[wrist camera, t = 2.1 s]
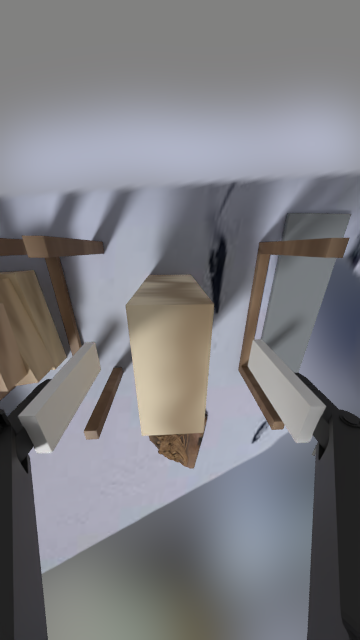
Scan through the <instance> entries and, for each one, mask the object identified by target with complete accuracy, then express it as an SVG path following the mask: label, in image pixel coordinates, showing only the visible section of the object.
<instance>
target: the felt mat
mask: <svg viewBox="0 0 360 640" xmlns="http://www.w3.org/2000/svg"><path fill="white" fill-rule="evenodd" d="M350 216H351V214H320V213H288V214H287V218H286V223H285V227H284V232H283V237H282V241H291V240H306V239H322V238H343V237H344V234H345V231H346V228H347V225H348V222H349V219H350ZM335 261H336V258H321V257H305V256H288V255H279V256H278V261H277V265H276V270H275V275H274V280H273V284H272V289H271V294H270V299H269V303H268V308H267V313H266V318H265V322H264V327H263V332H262V337H261V339H262V340H263V341H264V342H265V343H266V344H267V345H268V347H269V348H270V349H271V350H272V351H273V352H274V353H275V354H276V355H277V356H278V357H279V358H280V359H281V360H282V361H283V362H284V363H285V364H286V365H287V366H288V367H289V368H290V369H291V370H292V371H293V372H294V373H298V372H299V368H300V366H301V363H302V360H303V357H304V354H305V351H306V348H307V344H308V342H309V338H310V335H311V333H312V330H313V327H314V324H315V320H316V318H317V315H318V312H319V308H320V306H321V303H322V300H323V297H324V294H325V291H326V288H327V285H328V282H329V279H330V276H331V273H332V270H333V267H334V264H335Z"/></svg>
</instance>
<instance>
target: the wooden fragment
mask: <svg viewBox="0 0 360 640" xmlns="http://www.w3.org/2000/svg"><path fill="white" fill-rule="evenodd" d="M206 416H207V414H206V413H205V417H206ZM206 421H207V417H206V418H205V420H204V429H205V425H206ZM203 433H204V432H203ZM203 433H188V434H169V435H150V436H149V438H150V441H151V442H153V444H155V446H156V447H157V448H158V449H159V451H158V453H159V454H163V455H164V456H165V457H167V458H168V459H170V460H174V461H175V462H180V463H181V464H182V465H183V466H185V467H188V468H194V466H195V462H196V459H197V455H198V451H199V448H200V445H201V441H202V438H203Z"/></svg>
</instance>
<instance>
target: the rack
mask: <svg viewBox="0 0 360 640" xmlns="http://www.w3.org/2000/svg"><path fill="white" fill-rule="evenodd" d="M22 238H23V239H6V238H0V256H9V255H28V257H29V258H45V260H46V264H47V267H48V271H49V274H50V278H51V281H52V285H53V289H54V292H55V296H56V299H57V303H58V306H59V310H60V313H61V317H62V320H63V324H64V327H65V331H66V334H67V338H68V341H69V345H70V349H71V352H72V356H73V355H74V354H75V353H76V352H77V351H78V350H79V349H80V348H81V347H82V345H81V341H80V337H79V333H78V329H77V325H76V321H75V317H74V313H73V309H72V305H71V301H70V297H69V293H68V289H67V285H66V282H65V278H64V274H63V270H62V266H61V262H60V258H59V257H63V256H76V255H90V254H103V253H104V249H103V243H102V242H100V241H90V240H80V239H70V238H60V237H49V236H22ZM348 241H349V238H322V239H306V240H291V241H276V242H260V243H259V249H258V255H257V261H256V267H255V273H254V279H253V285H252V291H251V297H250V303H249V309H248V315H247V321H246V327H245V333H244V339H243V345H242V351H241V357H240V363H239V369H238V370H239V372H240V374H241V376H242V377H243V379H244V381H245V383H246V384H247V386H248V388H249V390H250V392H251V393H252V395H253V397H254V399H255V400H256V402H257V404H258V406H259V407H260V409H261V411H262V413H263V415H264V416H265V418H266V420H267V422H268V423H269V425H270V427H271V429H272V430H277V429H283V428H284V423H283V421H282V420H281V418H280V417H279V415H278V413H277V412H276V410H275V409H274V407H273V406H272V404H271V402H270V401H269V399H268V398H267V396H266V394H265V393H264V391H263V390H262V388H261V387H260V385H259V383H258V382H257V380H256V379H255V377H254V375H253V374H252V372H251V371H250V369H249V367H248V362H249V357H250V352H251V346H252V341H253V340H254V336H255V331H256V325H257V320H258V315H259V310H260V305H261V299H262V294H263V289H264V284H265V279H266V273H267V268H268V263H269V258H270V254H271V255H288V256H305V257H321V258H343V255H344V252H345V249H346V246H347V244H348ZM122 375H123V371H122V367H120V368H113V370H112V372H111V375H110V377H109V379H108V381H107V383H106V385H105V387H104V389H103V392H102V394H101V396H100V398H99V400H98V402H97V404H96V406H95V409H94V411H93V413H92V415H91V417H90V419H89V421H88V423H87V426H86V428H85V430H84V434H85V437H86V440H87V439H99V437H100V434H101V431H102V429H103V426H104V423H105V421H106V418H107V415H108V413H109V410H110V407H111V405H112V402H113V399H114V397H115V394H116V391H117V389H118V386H119V383H120V381H121V378H122ZM15 387H16V386H14V387H13V388H11V389H10V390H9V391H0V400H1V399H3V398H4V397H5V396H6V395H7V394H8V393H9V392H10V391H11V390H13V389H14V388H15Z"/></svg>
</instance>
